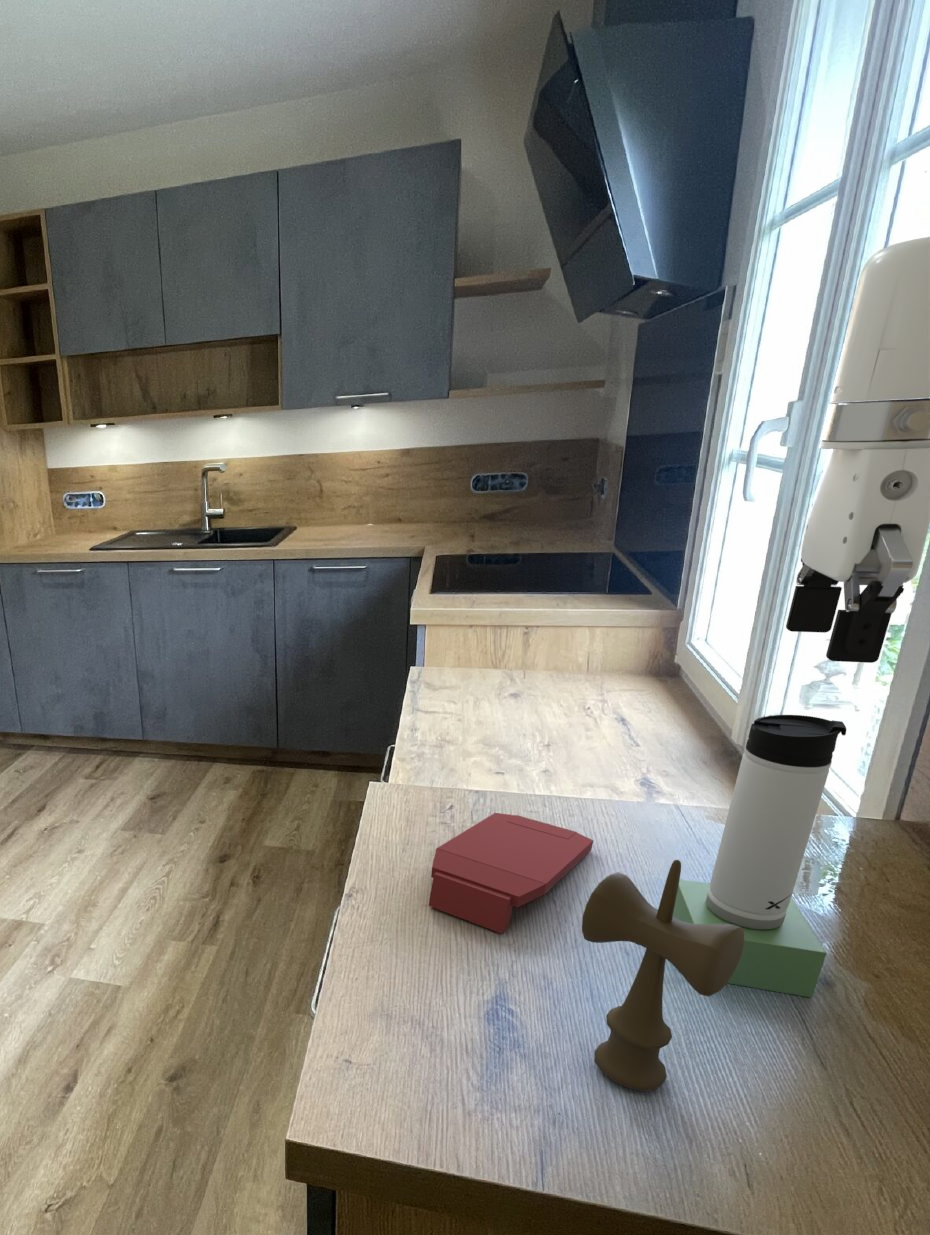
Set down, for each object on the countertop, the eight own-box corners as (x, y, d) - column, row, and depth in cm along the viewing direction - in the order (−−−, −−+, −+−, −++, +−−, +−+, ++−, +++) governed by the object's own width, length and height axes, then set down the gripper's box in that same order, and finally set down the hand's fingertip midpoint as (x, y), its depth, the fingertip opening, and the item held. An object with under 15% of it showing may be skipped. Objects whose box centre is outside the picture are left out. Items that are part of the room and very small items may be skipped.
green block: (777, 935, 81) (790, 894, 79) (812, 998, 72) (827, 953, 70) (666, 918, 84) (675, 878, 82) (686, 976, 75) (697, 932, 74)
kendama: (591, 1023, 70) (633, 823, 63) (709, 1092, 62) (771, 874, 55) (552, 1052, 67) (590, 846, 60) (670, 1128, 59) (731, 903, 52)
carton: (492, 844, 107) (411, 899, 88) (498, 810, 105) (418, 859, 87) (588, 873, 99) (521, 940, 81) (596, 837, 98) (530, 897, 80)
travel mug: (790, 939, 72) (853, 737, 65) (705, 919, 75) (755, 724, 68) (784, 905, 77) (842, 713, 70) (705, 888, 80) (751, 703, 73)
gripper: (1015, 426, 51) (934, 677, 58) (896, 423, 66) (842, 623, 73) (872, 431, 54) (810, 671, 60) (789, 427, 69) (746, 620, 75)
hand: (827, 645), depth 66 cm, fingers open, 9 cm apart
